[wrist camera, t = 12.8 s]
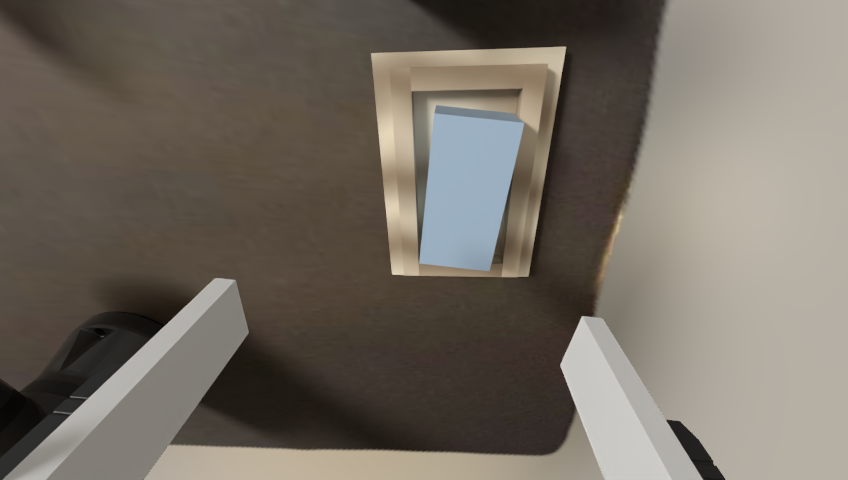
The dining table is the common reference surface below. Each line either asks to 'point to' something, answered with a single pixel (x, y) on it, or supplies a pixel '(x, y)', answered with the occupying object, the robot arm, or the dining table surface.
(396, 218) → the slot holder
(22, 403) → the robot arm
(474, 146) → the blue block
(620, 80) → the dining table surface
